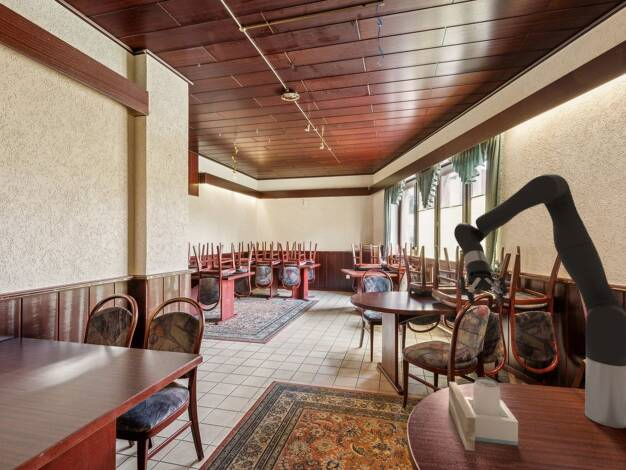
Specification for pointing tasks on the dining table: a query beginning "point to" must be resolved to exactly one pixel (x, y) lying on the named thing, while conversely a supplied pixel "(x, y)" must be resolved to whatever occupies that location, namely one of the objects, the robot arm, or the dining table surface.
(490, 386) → the can
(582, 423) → the dining table surface
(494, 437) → the socket block
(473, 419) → the stop board
